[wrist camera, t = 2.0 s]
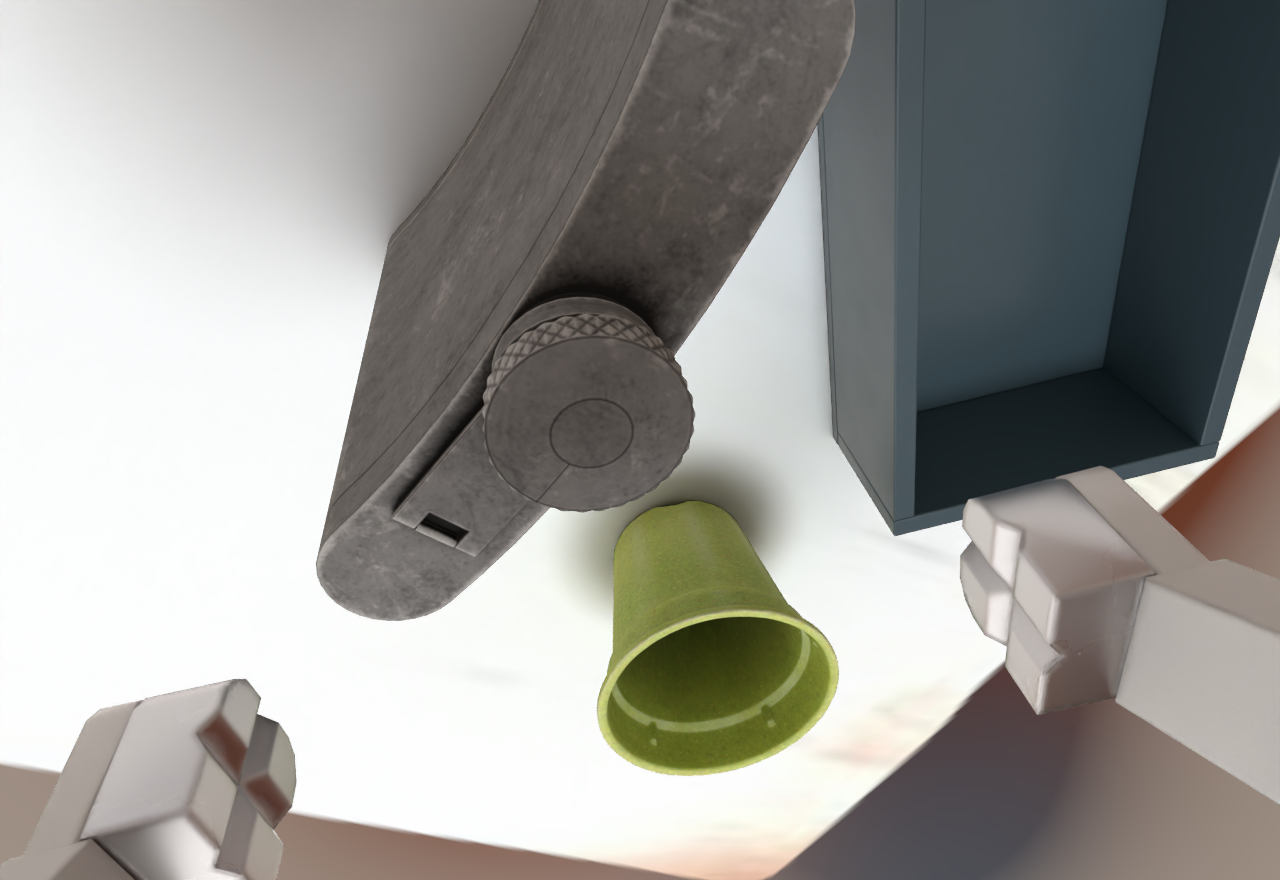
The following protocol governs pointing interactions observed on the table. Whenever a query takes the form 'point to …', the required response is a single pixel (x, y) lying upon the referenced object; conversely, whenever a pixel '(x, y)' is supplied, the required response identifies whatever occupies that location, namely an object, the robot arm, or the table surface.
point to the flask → (566, 282)
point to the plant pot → (706, 649)
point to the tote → (1043, 238)
